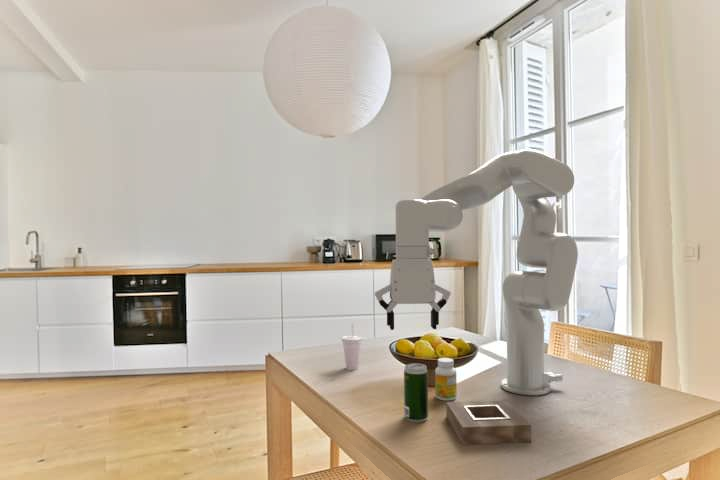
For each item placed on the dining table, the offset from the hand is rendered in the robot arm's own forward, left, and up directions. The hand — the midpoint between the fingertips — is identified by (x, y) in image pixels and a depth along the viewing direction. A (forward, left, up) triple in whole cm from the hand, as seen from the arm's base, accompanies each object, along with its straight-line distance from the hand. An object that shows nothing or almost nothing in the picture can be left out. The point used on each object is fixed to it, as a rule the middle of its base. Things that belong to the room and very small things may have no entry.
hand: (412, 328), depth 109 cm
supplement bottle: (-11, -13, -21) cm, 26 cm away
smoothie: (+12, -41, -21) cm, 47 cm away
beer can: (-1, 0, -21) cm, 21 cm away
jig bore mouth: (-15, +7, -17) cm, 24 cm away
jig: (-15, +7, -21) cm, 26 cm away
